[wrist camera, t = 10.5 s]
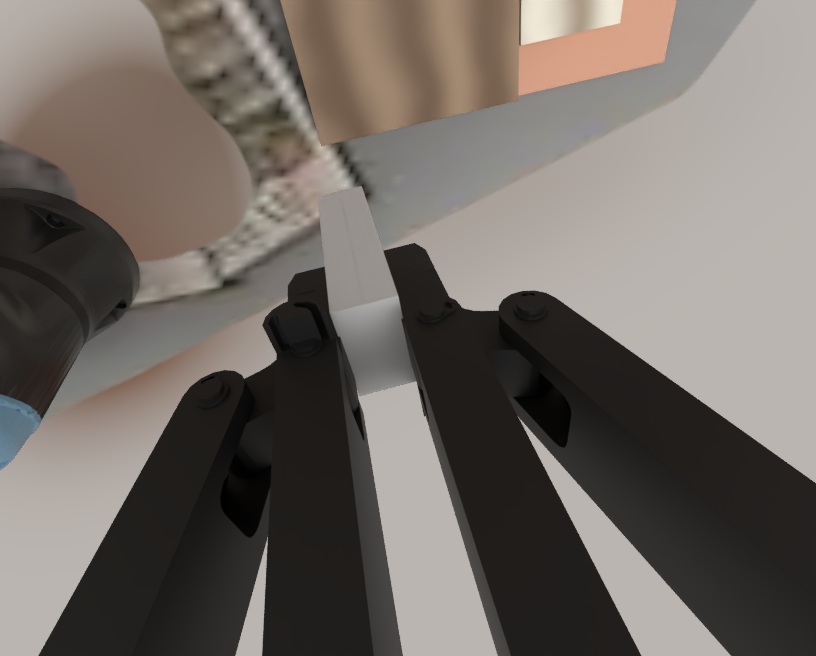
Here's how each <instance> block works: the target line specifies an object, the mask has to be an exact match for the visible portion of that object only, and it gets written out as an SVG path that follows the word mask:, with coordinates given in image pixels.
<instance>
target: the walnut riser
mask: <svg viewBox="0 0 816 656" xmlns="http://www.w3.org/2000/svg"><path fill="white" fill-rule="evenodd" d="M280 1H281V5H282V9H283V12H284V16H285V19H286V23H287V26H288V30H289V33H290V37H291V40H292V44H293V47H294V51H295V54H296V58H297V62H298V65H299V69H300V72H301V76H302V79H303V83H304V86H305V90H306V93H307V97H308V100H309V104H310V108H311V111H312V115H313V118H314V122H315V125H316V129H317V132H318V136H319V139H320V143H321V146H324V145H329V144H333V143H337V142H342V141H346V140H350V139H355V138H359V137H363V136H367V135H372V134H376V133H380V132H385V131H389V130H393V129H398V128H402V127H406V126H410V125H415V124H419V123H423V122H428V121H432V120H436V119H441V118H445V117H449V116H453V115H458V114H462V113H466V112H471V111H475V110H479V109H483V108H488V107H492V106H496V105H501V104H505V103H509V102H514V101H518V91H519V0H280Z"/></svg>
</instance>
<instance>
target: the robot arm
mask: <svg viewBox="0 0 816 656" xmlns="http://www.w3.org/2000/svg"><path fill="white" fill-rule="evenodd" d="M318 206H319V216H320V225H321V235H322V244H323V254H324V264H325V267H322V268H318V269H314V270H309V271H305V272H301V273H297V274H295V276H294V277H293V279H292V280H291V282H290V283H289V285H288V302H285V303H283V304H281V305H279V306H278V307H276V308H275V309H273V310H272V311H271V312H270V313H269V314H268V315H267V316H266V317H265V320H264V323H263V327H264V329H265V331H266V333H267V335H268V337H269V339H270V341H271V343H272V345H273V347H274V349H275V351H276V353H277V360H276V361H274V362H273V363H272V364H271V365H270V366H268V367H266V368H265V369H263V370H261V371H260V372H257V373H255V374H254V375H251V376H249V377H248V378H245V379H244V378H243V376H242V375H241V374H239V373H237V372H235V371H227V370H224V371H220V372H215V373H212V374H210V375H208V376H205V377H203V378H201V379H200V380H199V381H197V382H196V383H195V384H194V385H192V386H191V387H190V388H189V389H188V391H187V392H186V393H185V394H184V396H183V397H182V399H181V401H180V403H179V404H178V406H177V408H176V410H175V412H174V413H173V415H172V417H171V419H170V421H169V423H168V424H167V426H166V428H165V429H164V431H163V433H162V435H161V437H160V438H159V440H158V442H157V444H156V446H155V447H154V450H153V451H152V453H151V455H150V456H149V458H148V460H147V462H146V464H145V465H144V467H143V469H142V471H141V473H140V474H139V476H138V478H137V480H136V482H135V483H134V485H133V487H132V489H131V491H130V492H129V494H128V496H127V498H126V500H125V501H124V503H123V505H122V507H121V509H120V510H119V512H118V514H117V516H116V518H115V519H114V521H113V523H112V525H111V527H110V528H109V530H108V532H107V534H106V535H105V538H104V539H103V541H102V543H101V544H100V546H99V548H98V550H97V552H96V553H95V555H94V557H93V559H92V561H91V563H90V564H89V566H88V568H87V570H86V571H85V573H84V575H83V577H82V579H81V580H80V582H79V584H78V586H77V588H76V590H75V591H74V593H73V595H72V597H71V599H70V600H69V602H68V604H67V606H66V607H65V609H64V611H63V613H62V615H61V616H60V618H59V620H58V622H57V624H56V626H55V627H54V629H53V631H52V632H51V634H50V636H49V638H48V640H47V641H46V643H45V645H44V647H43V649H42V650H41V652H40V654H39V656H235V654H236V650H237V647H238V643H239V640H240V636H241V632H242V629H243V625H244V621H245V617H246V614H247V610H248V607H249V603H250V599H251V596H252V592H253V588H254V585H255V581H256V577H257V574H258V570H259V566H260V563H261V559H262V555H263V551H264V548H265V544H266V541H267V537H268V548H267V568H266V589H265V610H264V612H265V613H264V631H263V652H262V656H403V654H402V649H401V642H400V636H399V630H398V624H397V617H396V611H395V605H394V599H393V593H392V587H391V581H390V574H389V568H388V563H387V556H386V550H385V544H384V537H383V531H382V525H381V519H380V513H379V507H378V501H377V494H376V488H375V483H374V476H373V470H372V464H371V458H370V451H369V445H368V439H367V433H366V427H365V421H364V415H363V411H362V408H361V405H360V403H359V400H358V394H357V390H358V393H359V396H362V395H366V394H369V393H373V392H377V391H381V390H385V389H388V388H392V387H396V386H400V385H403V384H407V383H410V382H415V381H417V385H418V389H419V394H420V399H421V403H422V408H423V413H424V416H426V418H427V422H428V425H429V428H430V432H431V435H432V438H433V442H434V445H435V448H436V451H437V455H438V458H439V462H440V465H441V468H442V472H443V475H444V478H445V481H446V485H447V488H448V491H449V495H450V498H451V501H452V505H453V508H454V511H455V515H456V518H457V521H458V525H459V528H460V531H461V535H462V538H463V541H464V545H465V548H466V551H467V555H468V558H469V561H470V565H471V568H472V571H473V574H474V578H475V581H476V584H477V588H478V591H479V594H480V598H481V601H482V604H483V608H484V611H485V614H486V618H487V621H488V624H489V628H490V631H491V634H492V638H493V641H494V644H495V648H496V651H497V654H498V656H641V654H640V652H639V650H638V648H637V646H636V644H635V643H634V641H633V639H632V637H631V635H630V633H629V631H628V629H627V627H626V625H625V623H624V621H623V619H622V617H621V615H620V613H619V612H618V610H617V608H616V606H615V604H614V602H613V600H612V598H611V596H610V594H609V592H608V590H607V588H606V587H605V585H604V583H603V581H602V579H601V577H600V575H599V573H598V571H597V569H596V567H595V565H594V563H593V561H592V559H591V558H590V555H589V554H588V551H587V550H586V548H585V546H584V544H583V542H582V540H581V538H580V536H579V534H578V532H577V530H576V528H575V526H574V524H573V522H572V521H571V519H570V517H569V515H568V513H567V511H566V509H565V507H564V505H563V503H562V501H561V499H560V497H559V495H558V494H557V491H556V490H555V488H554V486H553V484H552V482H551V480H550V478H549V476H548V474H547V472H546V470H545V468H544V466H543V464H542V463H541V460H540V458H539V457H538V455H537V453H536V451H535V449H534V447H533V445H532V443H531V441H530V439H529V437H528V435H527V433H526V431H525V430H524V427H523V426H522V424H521V422H520V420H519V418H520V419H521V420H522V421H523V422H524V424H525V425H526V426H527V427H528V428H529V429H530V430H531V431H532V432H533V434H534V435H535V436H536V437H537V438H538V439H539V440H540V442H542V444H543V445H544V446H545V447H546V448H547V449H548V451H549V452H550V453H551V454H552V455H553V456H554V457H555V458H556V460H558V462H559V463H560V464H561V465H562V466H563V467H564V468H565V470H566V471H567V472H568V473H569V474H570V475H571V476H572V477H573V479H574V480H575V481H576V482H577V483H578V484H579V485H580V486H581V487H582V489H583V490H584V491H585V492H586V493H587V494H588V495H589V497H590V498H591V499H592V500H593V501H594V502H595V503H596V504H597V506H598V507H599V508H600V509H601V510H602V511H603V512H604V513H605V515H606V516H608V518H609V519H610V520H611V521H612V522H613V523H614V525H615V526H616V527H617V528H618V529H619V530H620V531H621V532H622V534H623V535H624V536H625V537H626V538H627V539H628V540H629V541H630V542H631V544H632V545H633V546H634V547H635V548H636V549H637V550H638V552H640V554H641V555H642V556H643V557H644V558H645V559H646V561H647V562H648V563H649V564H650V565H651V566H652V567H653V568H654V570H655V571H656V572H657V573H658V574H659V575H660V576H661V577H662V578H663V580H664V581H665V582H666V583H667V584H668V585H669V586H670V587H671V589H672V590H673V591H674V592H675V593H676V594H677V595H678V596H679V597H680V599H681V600H682V601H683V602H684V603H685V604H686V605H687V606H688V608H689V609H690V610H691V611H692V612H693V613H694V614H695V616H696V617H697V618H698V619H699V620H700V621H701V622H702V623H703V624H704V626H705V627H706V628H707V629H708V630H709V631H710V632H711V634H712V635H713V636H714V637H715V638H716V639H717V640H718V641H719V642H720V644H721V645H722V646H723V647H724V648H725V649H726V650H727V651H728V653H729V654H730V655H731V656H816V483H815V482H813V481H812V480H810V479H809V478H808V477H806V476H805V475H803V474H802V473H801V472H799V471H798V470H796V469H795V468H793V467H792V466H791V465H789V464H788V463H787V462H785V461H784V460H782V459H781V458H780V457H778V456H777V455H775V454H774V453H772V452H771V451H770V450H768V449H767V448H766V447H764V446H763V445H761V444H760V443H758V442H757V441H756V440H754V439H753V438H752V437H750V436H749V435H747V434H746V433H744V432H743V431H742V430H740V429H739V428H737V427H736V426H735V425H733V424H732V423H730V422H729V421H728V420H726V419H725V418H723V417H722V416H721V415H719V414H718V413H716V412H715V411H714V410H712V409H711V408H709V407H708V406H707V405H705V404H704V403H702V402H701V401H700V400H698V399H697V398H695V397H694V396H693V395H691V394H690V393H688V392H687V391H686V390H684V389H683V388H681V387H680V386H679V385H677V384H676V383H674V382H673V381H672V380H670V379H668V378H667V377H666V376H664V375H663V374H662V373H660V372H659V371H658V370H656V369H655V368H653V367H652V366H650V365H649V364H648V363H646V362H645V361H643V360H642V359H641V358H639V357H638V356H637V355H635V354H634V353H632V352H631V351H630V350H628V349H626V348H625V347H624V346H622V345H621V344H620V343H618V342H617V341H615V340H614V339H613V338H611V337H610V336H608V335H607V334H606V333H604V332H603V331H601V330H600V329H599V328H597V327H596V326H594V325H593V324H592V323H590V322H589V321H587V320H586V319H585V318H583V317H582V316H580V315H579V314H578V313H576V312H575V311H573V310H572V309H571V308H569V307H568V306H566V305H565V304H564V303H562V302H561V301H559V300H558V299H556V298H555V297H553V296H551V295H549V294H547V293H544V292H538V291H521V292H518V293H514V294H511V295H509V296H508V297H506V298H505V299H503V301H502V302H501V304H500V306H499V311H472V310H467V309H464V308H462V307H461V306H460V305H459V304H458V302H457V301H456V300H454V299H452V298H450V297H449V296H448V294H447V292H446V290H445V288H444V286H443V284H442V282H441V280H440V278H439V276H438V274H437V272H436V270H435V268H434V266H433V264H432V262H431V260H430V258H429V256H428V254H427V252H426V250H425V249H423V248H422V247H420V246H419V245H417V244H415V243H413V244H409V245H405V246H401V247H397V248H393V249H389V250H385V251H383V249H382V246H381V243H380V240H379V237H378V234H377V231H376V228H375V225H374V222H373V219H372V216H371V213H370V210H369V207H368V204H367V201H366V198H365V195H364V192H363V189H362V186H360V187H356V188H352V189H347V190H343V191H339V192H335V193H331V194H327V195H322V196H318ZM138 286H139V271H138V266H137V263H136V260H135V258H134V255H133V253H132V252H131V250H130V248H129V247H128V245H127V244H126V242H125V241H124V240H123V238H122V237H121V236H120V235H119V234H118V233H117V232H116V231H115V230H114V229H113V228H112V227H111V226H110V225H109V224H108V223H106V222H105V221H104V220H103V219H101V218H100V217H99V216H97V215H96V214H94V213H93V212H91V211H89V210H88V209H86V208H84V207H82V206H80V205H78V204H76V203H74V202H72V201H69V200H67V199H65V198H62V197H59V196H56V195H53V194H49V193H45V192H41V191H35V190H28V189H0V470H1V469H3V468H4V467H5V466H7V465H8V464H9V463H10V462H11V461H12V460H13V459H14V457H15V456H16V455H17V453H18V452H19V450H20V449H21V448H22V446H23V445H24V443H25V442H26V440H27V439H28V438H29V436H30V435H31V434H33V433H34V432H35V431H36V430H37V428H38V427H39V425H40V423H41V420H42V418H43V417H44V415H45V413H46V411H47V409H48V408H49V406H50V404H51V402H52V401H53V399H54V397H55V395H56V393H57V392H58V390H59V388H60V386H61V385H62V383H63V381H64V379H65V377H66V376H67V374H68V372H69V370H70V368H71V367H72V365H73V363H74V361H75V360H76V358H77V356H78V354H79V352H80V351H81V349H82V347H83V346H84V344H85V343H86V342H87V341H89V340H90V339H92V338H93V337H95V336H96V335H98V334H99V333H101V332H102V331H104V330H105V329H107V328H108V327H110V326H111V325H113V324H114V323H116V322H117V321H118V320H119V319H120V318H121V317H122V316H123V315H124V314H125V313H126V312H127V310H128V309H129V307H130V305H131V303H132V301H133V299H134V298H135V296H136V293H137V290H138ZM518 417H519V418H518Z"/></svg>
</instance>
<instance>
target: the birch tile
mask: <svg viewBox="0 0 816 656" xmlns="http://www.w3.org/2000/svg"><path fill="white" fill-rule="evenodd" d="M622 6H623V0H519V45H520V46H521V45H526V44H530V43H534V42H539V41H543V40H548V39H552V38H557V37H561V36H565V35H570V34H574V33H579V32H583V31H588V30H592V29H597V28H601V27H605V26H610V25H614V24H619V23H620V21H621V13H622Z"/></svg>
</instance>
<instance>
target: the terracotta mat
mask: <svg viewBox="0 0 816 656" xmlns="http://www.w3.org/2000/svg"><path fill="white" fill-rule="evenodd" d="M675 5H676V0H623V6H622V13H621V21H620V23H619V24H614V25H610V26H605V27H601V28H597V29H592V30H588V31H583V32H579V33H574V34H570V35H565V36H561V37H557V38H552V39H548V40H543V41H539V42H534V43H530V44H526V45H521V46H520V45H519V91H518V96H519V95H523V94H528V93H532V92H536V91H541V90H545V89H549V88H554V87H558V86H562V85H567V84H571V83H575V82H579V81H584V80H588V79H592V78H597V77H601V76H605V75H610V74H614V73H618V72H623V71H627V70H631V69H635V68H640V67H644V66H648V65H653V64H657V63H661V62H664V59H665V54H666V49H667V44H668V39H669V34H670V29H671V24H672V20H673V15H674V10H675Z"/></svg>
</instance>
